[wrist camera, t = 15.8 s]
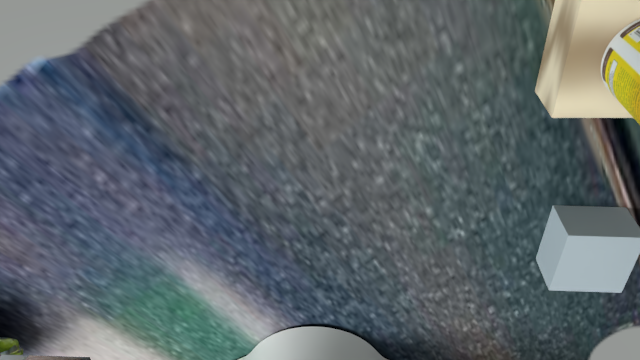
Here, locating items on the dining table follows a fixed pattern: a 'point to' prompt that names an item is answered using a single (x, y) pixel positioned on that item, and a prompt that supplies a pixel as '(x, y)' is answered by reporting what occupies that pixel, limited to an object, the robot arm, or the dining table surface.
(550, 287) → the greyblue block
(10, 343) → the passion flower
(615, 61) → the supplement bottle
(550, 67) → the beech block
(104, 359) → the dining table surface
